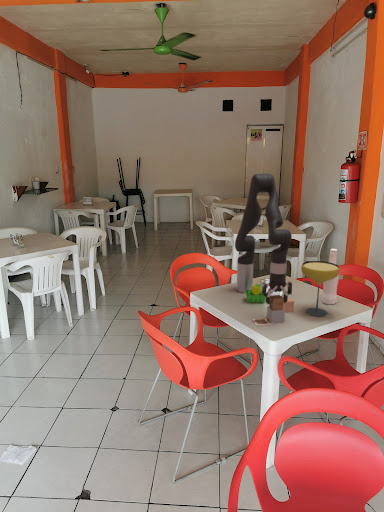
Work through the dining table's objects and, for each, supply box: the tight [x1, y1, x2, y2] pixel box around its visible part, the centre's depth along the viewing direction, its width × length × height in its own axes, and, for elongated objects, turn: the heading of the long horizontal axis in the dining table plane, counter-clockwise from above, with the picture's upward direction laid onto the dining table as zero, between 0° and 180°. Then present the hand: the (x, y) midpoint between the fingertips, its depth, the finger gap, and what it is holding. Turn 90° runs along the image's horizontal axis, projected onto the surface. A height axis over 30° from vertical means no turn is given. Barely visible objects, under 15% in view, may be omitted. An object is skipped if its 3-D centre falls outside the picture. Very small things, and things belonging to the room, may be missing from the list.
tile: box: [251, 317, 272, 327], centre depth 187 cm, size 7×7×1 cm
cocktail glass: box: [300, 260, 341, 318], centre depth 195 cm, size 18×18×25 cm
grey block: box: [266, 306, 286, 324], centre depth 190 cm, size 6×6×6 cm
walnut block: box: [268, 294, 284, 311], centre depth 188 cm, size 5×5×6 cm
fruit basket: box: [245, 283, 266, 304], centre depth 212 cm, size 11×9×11 cm
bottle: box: [320, 248, 340, 305], centre depth 208 cm, size 8×8×30 cm
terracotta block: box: [283, 297, 295, 314], centre depth 201 cm, size 5×5×6 cm
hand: (276, 303), depth 188 cm, fingers open, 8 cm apart
